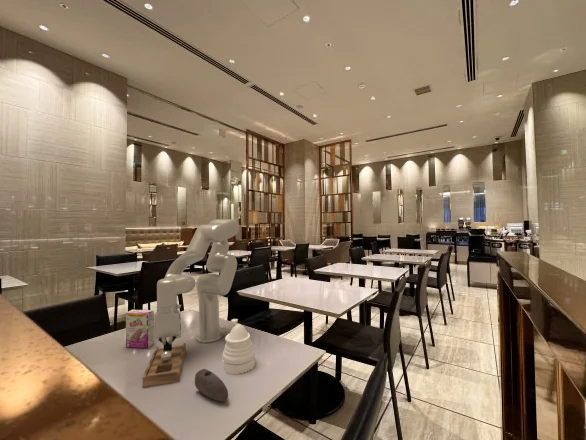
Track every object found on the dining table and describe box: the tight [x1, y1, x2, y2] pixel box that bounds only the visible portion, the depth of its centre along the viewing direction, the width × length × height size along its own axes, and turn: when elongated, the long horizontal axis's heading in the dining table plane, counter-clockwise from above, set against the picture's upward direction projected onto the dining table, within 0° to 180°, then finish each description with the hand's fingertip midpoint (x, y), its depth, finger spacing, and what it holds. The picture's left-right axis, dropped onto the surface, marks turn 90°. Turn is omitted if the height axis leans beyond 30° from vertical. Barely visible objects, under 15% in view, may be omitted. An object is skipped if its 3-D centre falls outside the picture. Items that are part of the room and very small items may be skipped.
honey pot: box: [221, 318, 256, 375], centre depth 112 cm, size 13×13×18 cm
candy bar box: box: [124, 309, 155, 349], centre depth 129 cm, size 11×5×16 cm, turn 84°
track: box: [142, 342, 187, 388], centre depth 111 cm, size 24×12×4 cm, turn 16°
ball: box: [161, 350, 172, 362], centre depth 111 cm, size 4×4×4 cm
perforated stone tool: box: [194, 368, 229, 403], centre depth 93 cm, size 15×5×7 cm, turn 51°
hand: (167, 352), depth 115 cm, fingers closed
